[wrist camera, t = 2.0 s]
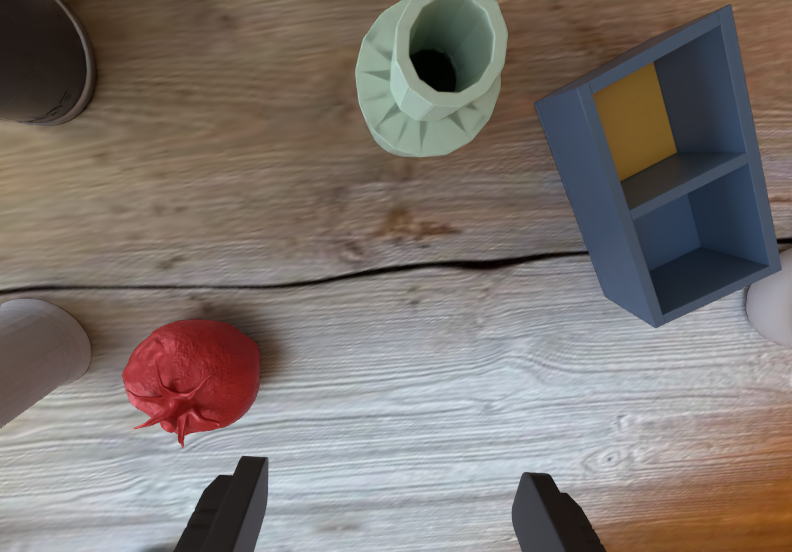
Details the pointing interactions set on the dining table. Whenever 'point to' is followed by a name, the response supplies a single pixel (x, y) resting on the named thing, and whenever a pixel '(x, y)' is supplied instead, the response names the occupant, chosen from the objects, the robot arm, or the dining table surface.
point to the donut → (773, 303)
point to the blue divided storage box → (666, 171)
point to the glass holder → (37, 353)
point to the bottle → (431, 74)
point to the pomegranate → (193, 376)
